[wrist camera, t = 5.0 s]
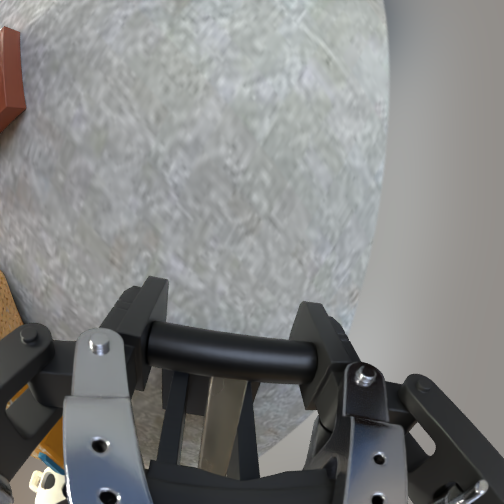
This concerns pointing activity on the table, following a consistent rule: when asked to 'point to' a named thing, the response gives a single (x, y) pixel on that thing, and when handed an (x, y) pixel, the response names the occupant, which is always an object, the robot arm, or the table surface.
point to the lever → (227, 375)
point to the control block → (10, 77)
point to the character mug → (48, 486)
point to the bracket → (194, 402)
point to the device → (51, 447)
